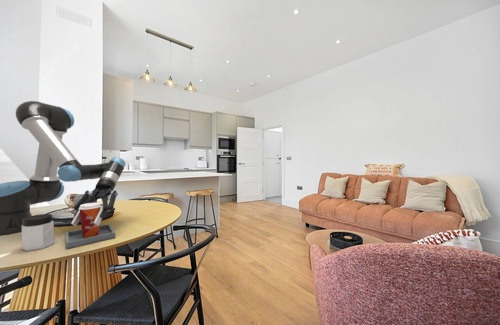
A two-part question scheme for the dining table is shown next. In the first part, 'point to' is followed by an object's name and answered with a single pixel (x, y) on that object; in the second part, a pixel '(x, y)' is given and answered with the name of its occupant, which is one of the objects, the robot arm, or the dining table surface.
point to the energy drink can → (77, 200)
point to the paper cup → (89, 219)
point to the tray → (77, 238)
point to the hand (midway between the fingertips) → (85, 224)
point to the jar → (37, 232)
